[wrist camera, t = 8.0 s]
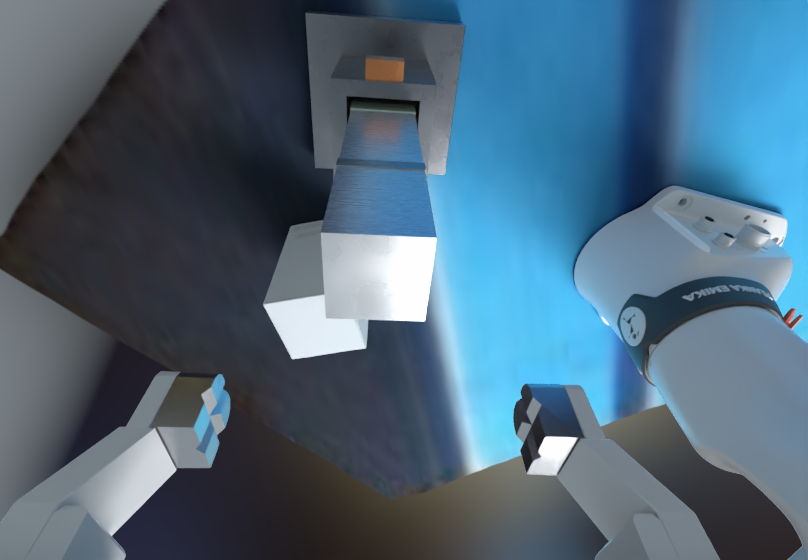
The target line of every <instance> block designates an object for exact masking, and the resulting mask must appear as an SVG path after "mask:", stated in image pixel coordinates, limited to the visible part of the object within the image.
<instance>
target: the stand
mask: <svg viewBox="0 0 808 560" xmlns="http://www.w3.org/2000/svg"><path fill="white" fill-rule="evenodd" d="M305 15H306V31H307V47H308V62H309V78H310V94H311V110H312V125H313V141H314V157H315V168H327V169H333V171H334V176H335V172H336V163H337V159H338V158H339V156H340V152H341V148H342V144H343V140H344V136H345V132H346V128H347V124H348V120H349V116H350V108H351V104H352V101H353V100H354V97H369V98H384V99H399V100H413V105H414V106H415V111H416V115H415V117H416V123H417V128H418V134H419V140H420V146H421V151H422V157H423V163H425V167H426V180H427V174H437V175H445V170H446V162H447V155H448V148H449V141H450V134H451V126H452V119H453V112H454V105H455V98H456V90H457V83H458V76H459V69H460V62H461V54H462V47H463V40H464V33H465V25H464V24H463V23H462V22H450V21H437V20H425V19H412V18H400V17H387V16H375V15H362V14H350V13H338V12H325V11H313V10H309V11H307V12H306V13H305Z"/></svg>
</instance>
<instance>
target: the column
mask: <svg viewBox="0 0 808 560" xmlns="http://www.w3.org/2000/svg"><path fill="white" fill-rule="evenodd" d="M415 115H416V111H415V106H414V105H413V100H399V99H384V98H369V97H354V100H353V101H352V104H351V108H350V116H349V120H348V124H347V128H346V132H345V136H344V140H343V144H342V148H341V152H340V156H339V158H338V159H337V163H336V172H335V176H334V181H333V185H332V189H331V193H330V197H329V201H328V205H327V209H326V213H325V217H324V221H323V225H322V229H321V247H322V263H323V280H324V296H325V312H326V318H332V319H365V320H397V321H425V317H426V310H427V303H428V296H429V289H430V282H431V274H432V267H433V260H434V253H435V246H436V239H437V237H436V231H435V226H434V220H433V214H432V209H431V203H430V197H429V191H428V186H427V180H426V167H425V163H423V157H422V151H421V146H420V140H419V134H418V128H417V123H416V117H415Z"/></svg>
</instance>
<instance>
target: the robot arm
mask: <svg viewBox="0 0 808 560" xmlns="http://www.w3.org/2000/svg"><path fill="white" fill-rule="evenodd" d="M682 199H683V200H682ZM680 200H682V201H681V202H679V201H680ZM786 232H787V220H786V219H785V218H784V217H783V216H782V215H781V214H778V213H775V212H772V211H768V210H765V209H761V208H757V207H754V206H750V205H746V204H743V203H739V202H735V201H732V200H728V199H724V198H721V197H717V196H713V195H710V194H706V193H702V192H699V191H695V190H692V189H688V188H684V187H681V186H669V187H667V188H665V189H663V190H662V191H660V192H659V193H658V194H656V195H655V196H654V197H653V198H652V199H650V200H649V201H648V202H647V203H646V204H644V205H643V206H641V207H639V208H637V209H635V210H633V211H631V212H629V213H626V214H624V215H622V216H620V217H618V218H616V219H615V220H613V221H611V222H610V223H608V224H607V225H606V226H604V227H603V228H602V229H600V230H599V231H598V232H597V233H596V234H595V235H594V236H593V237H592V238H591V239H590V240H589V241H588V243H587V244H586V245H585V247H584V248H583V250H582V251H581V253H580V255H579V257H578V259H577V262H576V265H575V270H574V280H575V285H576V287H577V290H578V291H579V293H580V294H581V295H582V296H583V297H584V298H585V299H586V300H587V301H588V302H589V303H590V304H591V305H592V306H593V307H594V308H595V309H596V310H597V313H598V315H599V317H600V318H601V320H602V321H603V322H604V323H605V324H607V325H610V326H611V328H612V329H613V330H614V331H615V332H616V334H617V335H618V336H619V337H620V339H621V340H622V341H623V342H624V344H625V346H626V349H627V351H628V353H629V355H630V356H631V358H632V359H633V361H634V363H635V364H636V366H637V368H638V370H639V372H640V373H641V374H642V375H643V376H644V378H645V379H646V380H647V381H648V382H649V383H650V384H652V385H653V386H655V387H656V388H657V390H658V391H659V393H660V394H661V396H662V398H663V399H664V401H665V402H666V404H667V405H668V407H669V408H670V410H671V412H672V414H673V415H674V417H675V418H676V420H677V422H678V423H679V424H680V426H681V428H682V429H683V431H684V433H685V434H686V436H687V438H688V439H689V441H690V442H691V444H692V445H693V447H694V449H695V450H696V451H697V452H698V453H699V454H700V455H701V456H702V457H703V458H704V459H705V460H707V461H708V462H710V463H711V464H713V465H715V466H716V467H719V468H721V469H724V470H726V471H730V472H734V473H738V474H743V475H744V476H745V477H746V478H747V479H749V480H750V481H751V482H752V483H753V484H755V486H757V487H758V488H759V489H760V490H761V491H762V492H763V493H764V494H765V495H767V497H768V498H769V499H771V501H772V502H773V503H775V504H776V506H777V507H778V508H779V509H780V510H781V511H782V512H783V513H784V514H785V516H786V517H787V518H788V519H789V521H790V522H791V523H792V525H793V526H794V528H795V530H796V532H797V533H798V535H799V537H800V540H801V542H802V545H803V546H802V547H801V548H800V549H799V550H798V551H797V552H795V554H793V555H792V556H791V557H790V558H789V559H788V560H808V344H807V343H806V342H805V341H804V340H803V339H802V338H800V337H799V336H798V335H797V334H796V333H795V332H794V331H793V330H792V328H793V327H794V326H795V325H796V324H797V323H798V322H799V320H800V319H801V318H802V317H803V316H802V315H799V316H798V317H797V318H796V319H794V320H793V321H792V322H791V323H790V324H789V322H790V321H791V320H792V318H793V315H794V313H795V309H793V308H792V309H790V310H789V311H788V313H787V314H786V315H785V316H784V317H783V316H782V314H781V312H780V310H779V308H778V306H777V304H776V300H777V299H778V297H779V296H780V294H781V293H782V291H783V290H784V288H785V287H786V285H787V283H788V281H789V279H790V277H791V273H792V270H793V262H792V259H791V256H790V255H789V254H788V253H787V252H786V251H785V250H784V249H783V248H781V246H782V244H783V242H784V239H785V236H786ZM224 384H225V381H224V378H223V375H222V374H206V373H188V372H166V371H161V372H160V373H159V374H158V375H156V376H155V377H154V379H153V381H152V383H151V384H150V386H149V388H148V390H147V391H146V393H145V395H144V397H143V398H142V400H141V402H140V403H139V405H138V407H137V409H136V410H135V412H134V414H133V415H132V417H131V419H130V421H129V422H128V424H127V426H126V427H119V428H118V429H116V430H115V431H114V432H112V433H111V434H110V435H108V436H106V437H105V438H104V439H102V440H101V441H100V442H98V443H97V444H95V445H94V446H93V447H91V448H90V449H88V450H87V451H86V452H84V453H83V454H81V455H80V456H79V457H77V458H76V459H74V460H73V461H72V462H71V463H69V464H68V465H66V466H65V467H64V468H62V469H61V470H59V471H58V472H56V473H55V474H54V475H52V476H51V477H50V478H48V479H47V480H45V481H44V482H42V483H41V484H40V485H38V486H37V487H35V488H34V489H33V490H31V491H30V492H28V493H27V494H26V495H24V496H23V497H21V498H20V499H19V500H17V501H16V502H14V504H13V505H12V507H11V508H10V510H9V511H8V512H7V514H6V515H5V517H4V518H3V520H2V521H1V522H0V560H124V558H125V556H126V555H125V552H124V550H123V548H122V547H121V546H120V545H119V544H118V543H117V542H116V541H115V539H114V538H113V537H112V535H113V534H114V533H115V532H116V531H117V530H118V529H119V528H120V527H121V526H122V525H123V524H124V523H125V522H126V521H127V520H128V519H129V518H130V517H131V516H132V515H133V514H134V513H135V512H136V511H137V510H138V509H139V508H140V507H141V506H142V505H143V504H144V503H145V502H146V501H147V499H148V498H149V497H150V496H151V495H152V494H153V493H154V492H155V491H156V490H157V489H158V488H159V487H160V486H161V485H162V484H163V483H164V482H165V481H166V480H167V479H168V478H169V477H170V476H171V475H172V474H173V473H174V472H175V471H176V468H210V467H211V465H212V462H213V460H214V457H215V454H216V451H217V448H218V446H219V441H218V438H217V434H219V433H220V432H221V431H222V430H223V429H224V428H225V426H226V424H227V421H228V418H229V412H230V397H229V394H228V392H226V391H225V390H224V389H223V386H224ZM521 395H522V399H520V400H519V401H517V402H516V405H515V408H514V418H513V419H514V427H515V431H516V435H517V436H518V437H519V438H520V440H521V441H522V442H523V446H522V448H521V450H520V451H521V455H522V459H523V462H524V466H525V470H526V474H536V475H557V478H558V479H559V480H560V481H561V483H562V484H563V485H564V486H565V488H566V489H567V490H568V491H569V493H570V494H571V495H572V496H573V497H574V499H575V500H576V501H577V502H578V503H579V505H580V506H581V507H582V508H583V510H584V511H585V512H586V513H587V515H588V516H589V517H590V518H591V520H592V521H593V522H594V523H595V524H596V526H597V527H598V528H599V529H600V531H601V532H602V533H603V534H604V536H605V537H606V538H607V539H608V541H609V542H608V543H607V544H606V545H605V546H604V547H603V548H602V549H601V550H600V551H599V553H598V554H597V556H596V557H595V560H720V559H719V557H718V555H717V553H716V551H715V550H714V548H713V546H712V544H711V542H710V540H709V539H708V537H707V535H706V533H705V531H704V529H703V527H702V526H701V524H700V522H699V520H698V518H697V516H696V515H695V513H694V512H693V511H692V510H691V509H690V508H688V507H687V506H686V505H685V504H684V503H683V502H682V501H680V500H679V499H678V498H677V497H676V496H675V495H674V494H672V493H671V492H670V491H669V490H668V489H667V488H666V487H665V486H663V485H662V484H661V483H660V482H659V481H658V480H656V479H655V478H654V477H653V476H652V475H651V474H650V473H649V472H648V471H646V470H645V469H644V468H643V467H642V466H641V465H640V464H638V463H637V462H636V461H635V460H634V459H633V458H632V457H630V456H629V455H628V454H627V453H626V452H625V451H624V450H622V449H621V448H620V447H619V446H618V445H617V444H616V443H615V442H613V441H612V440H611V439H610V440H609V439H605V436H604V434H603V432H602V430H601V427H600V425H599V423H598V421H597V418H596V416H595V414H594V412H593V410H592V407H591V405H590V403H589V401H588V398H587V396H586V394H585V392H584V390H583V388H582V387H581V386H579V385H560V384H525V385H524V386H523V387H522V390H521Z"/></svg>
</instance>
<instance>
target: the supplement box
mask: <svg viewBox="0 0 808 560" xmlns="http://www.w3.org/2000/svg"><path fill="white" fill-rule="evenodd" d="M323 221H324V220H319V221H314V222H308V223H303V224H298V225H293V226H291V227H290V229H289V232H288V235H287V238H286V241H285V244H284V247H283V249H282V252H281V255H280V258H279V261H278V264H277V267H276V269H275V272H274V275H273V278H272V281H271V284H270V286H269V289H268V292H267V295H266V298H265V301H264V303H263V306H264V308H265V309H266V311H267V313H268V315H269V317H270V319H271V320H272V322H273V324H274V326H275V328H276V330H277V332H278V333H279V335H280V337H281V339H282V341H283V343H284V345H285V347H286V348H287V350H288V352H289V354H290V356H291V358H292V359H298V358H305V357H311V356H318V355H324V354H331V353H337V352H343V351H350V350H357V349H365V348H366V344H367V331H368V320H365V319H332V318H326V312H325V296H324V280H323V263H322V247H321V229H322V225H323Z"/></svg>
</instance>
